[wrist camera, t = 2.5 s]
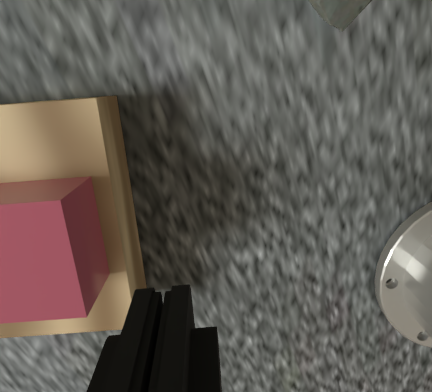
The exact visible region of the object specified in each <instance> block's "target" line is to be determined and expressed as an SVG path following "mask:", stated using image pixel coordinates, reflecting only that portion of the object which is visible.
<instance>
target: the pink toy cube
mask: <svg viewBox="0 0 432 392" xmlns="http://www.w3.org/2000/svg"><path fill="white" fill-rule="evenodd" d="M109 274H110V272H109V267H108V262H107V256H106V251H105V246H104V241H103V236H102V231H101V225H100V220H99V215H98V210H97V205H96V199H95V194H94V189H93V184H92V179H91V176H88V177H75V178H61V179H48V180H35V181H21V182H8V183H0V324H3V323H17V322H31V321H45V320H59V319H73V318H87V316H88V314H89V312H90V311H91V309H92V307H93V305H94V303H95V301H96V299H97V297H98V295H99V293H100V292H101V290H102V288H103V286H104V284H105V282H106V280H107V278H108V276H109Z"/></svg>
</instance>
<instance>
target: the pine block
mask: <svg viewBox="0 0 432 392" xmlns="http://www.w3.org/2000/svg"><path fill="white" fill-rule="evenodd" d="M88 176H91V179H92V184H93V189H94V194H95V199H96V205H97V210H98V215H99V220H100V225H101V231H102V236H103V241H104V246H105V251H106V256H107V262H108V267H109V272H110V274H109V276H108V278H107V280H106V282H105V284H104V286H103V288H102V290H101V292H100V293H99V295H98V297H97V299H96V301H95V303H94V305H93V307H92V309H91V311H90V312H89V314H88V316H87V318H73V319H59V320H45V321H31V322H17V323H3V324H0V338H8V337H22V336H36V335H50V334H64V333H78V332H92V331H106V330H120V329H122V328H123V325H124V322H125V319H126V316H127V313H128V310H129V307H130V304H131V301H132V298H133V294H134V291H135V290H136V289H143V288H147V286H146V280H145V273H144V267H143V261H142V254H141V248H140V241H139V235H138V229H137V222H136V216H135V210H134V203H133V197H132V190H131V184H130V178H129V171H128V165H127V158H126V152H125V146H124V139H123V133H122V127H121V120H120V114H119V107H118V101H117V95H115V96H102V97H89V98H76V99H63V100H50V101H37V102H23V103H10V104H0V183H8V182H21V181H35V180H48V179H61V178H75V177H88Z"/></svg>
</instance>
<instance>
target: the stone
mask: <svg viewBox="0 0 432 392" xmlns="http://www.w3.org/2000/svg"><path fill="white" fill-rule="evenodd" d="M370 1H371V0H309V2H310V3H311V5H312V6H313V8H314V9H315V10H316V11H317V13H318V14H319V15H320V17H321V18H322V19H323V20H324V21H326V22H327V23H328V24H329V25H330V26H334V27H336V28H338V29H339V30H340V31H341V32H342V31H343V30H344V29H345V28H346V27H347V26H348V25H349V24H350V23H351V22H352V21H353V20H354V19H355V18H356V16H357V15H358V14H359V13H360V12H361V11H362V10H363V9H364V8H365V7H366V6H367V5H368V3H369V2H370Z"/></svg>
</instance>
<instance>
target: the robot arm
mask: <svg viewBox="0 0 432 392" xmlns="http://www.w3.org/2000/svg"><path fill="white" fill-rule="evenodd" d="M374 282H375V293H376V298H377V301H378V304H379V307H380V309H381V310H382V312H383V313H384V315H385V317H386V318H387V319H388V321H389V322H390V323H391V324H392V326H393V327H394V328H395V329H396V330H397V331H398V332H399V333H400V334H402V335H403V336H404V337H406V338H407V339H409V340H411V341H413V342H415V343H417V344H419V345H423V346H427V347H430V348H432V202H430V203H428V204H427V205H425V206H424V207H422V208H420V209H419V210H417V211H416V212H414V213H413V214H412V215H411V216H410V217H409V218H407V219H406V220H405V221H404V222H403V223H402V224H401V225H400V226H399V227H398V228H397V230H396V231H395V232H394V233H393V234H392V236H391V237H390V238H389V240H388V242H387V243H386V245H385V247H384V249H383V250H382V252H381V255H380V258H379V261H378V264H377V267H376V274H375V281H374ZM87 392H222V387H221V371H220V358H219V345H218V334H217V327H205V328H195V323H194V314H193V305H192V296H191V288H190V285H179V286H172V289H171V291H166V292H165V297H164V302H163V301H162V295H161V292H155V289H154V288H143V289H136V290H135V291H134V294H133V298H132V301H131V304H130V307H129V310H128V313H127V316H126V319H125V322H124V325H123V328H122V332H121V335H112V336H109V337H107V339H106V341H105V344H104V347H103V349H102V352H101V355H100V357H99V360H98V363H97V365H96V368H95V371H94V374H93V376H92V379H91V382H90V384H89V387H88V390H87Z"/></svg>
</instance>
